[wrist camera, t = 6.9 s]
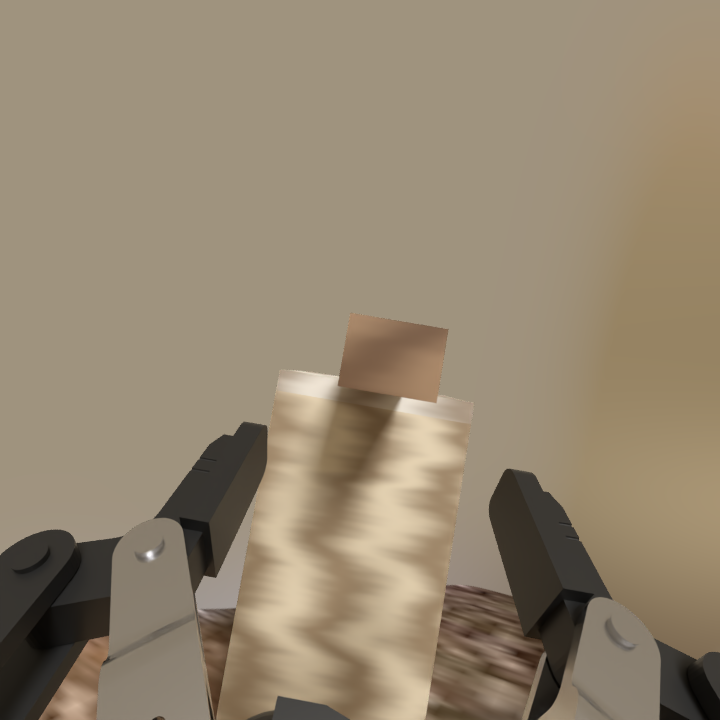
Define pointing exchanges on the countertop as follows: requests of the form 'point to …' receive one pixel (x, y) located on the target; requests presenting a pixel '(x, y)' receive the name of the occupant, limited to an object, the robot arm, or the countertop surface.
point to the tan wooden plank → (393, 357)
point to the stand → (347, 552)
